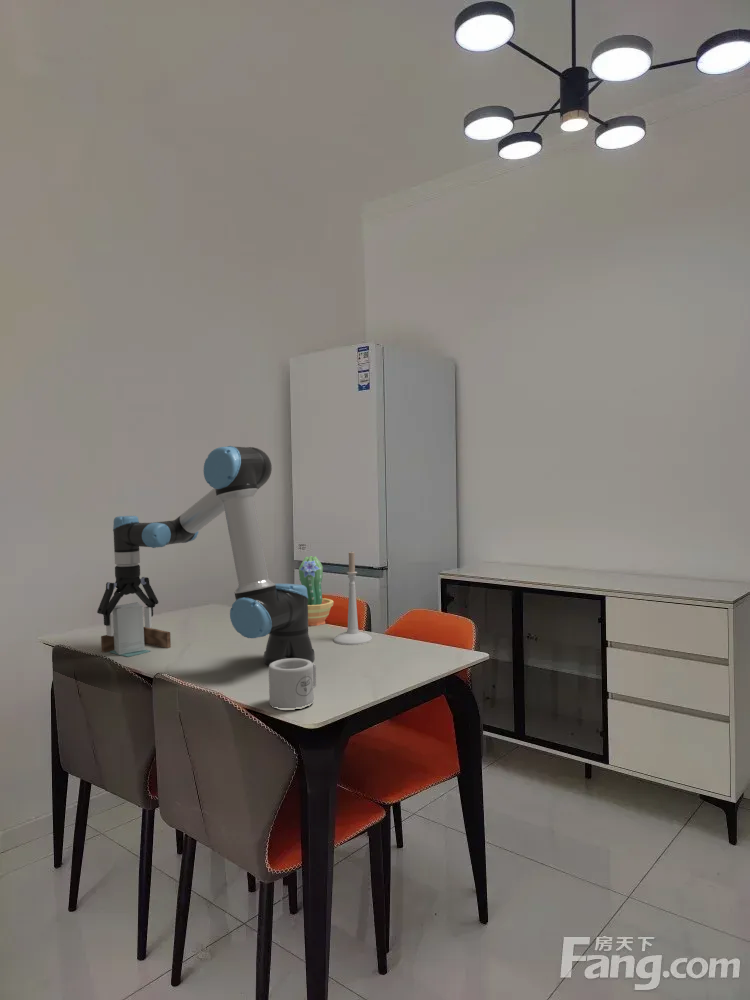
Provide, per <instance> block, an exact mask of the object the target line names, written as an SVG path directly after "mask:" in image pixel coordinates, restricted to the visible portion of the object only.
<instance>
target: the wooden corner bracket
mask: <svg viewBox="0 0 750 1000" xmlns="http://www.w3.org/2000/svg"><path fill="white" fill-rule="evenodd" d="M143 627H144V644H149V645H153V646H156V647H157V646H158V647H161V648H166V649H170V648H171V647H172V646H171V645H172V643H171V632H170V631H165V630H162V629H158V628H153V627H152V628H147V627H145V626H143ZM100 642H101V643H100V645H101V648H100V649H101V652H102V653H106V652H110V651H114V650H115V647H114V636H108V635H107V634H106V635H101V636H100Z"/></svg>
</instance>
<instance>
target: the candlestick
mask: <svg viewBox="0 0 750 1000" xmlns="http://www.w3.org/2000/svg"><path fill="white" fill-rule="evenodd" d="M355 553H356V552H355V551H349V552H348V571H347V572H346V574H347V575H348V576H347V578H348V581H349V583H348V609H347V629H346V630H347V631H344V632H341V633H339V634H337V635H336V636H335V637H334V638H333V642H334V643H335V644H337V643H338V644H339V645H345V646H359V645H358V644H361V645H364V644H363V643H366V642H368V641H370V640H371V639H372V640H373V638H372V636H371V635H370V634H368V633H366V632H362V631H359V624H358V609H357V594H356V593H357V591H356V582H355V580H356V578H357V574H358V571H356V566H355V565H356V563H355V562H356V559H355V558H356V557H355V555H356V554H355ZM366 644H367V643H366Z"/></svg>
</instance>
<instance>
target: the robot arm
mask: <svg viewBox="0 0 750 1000" xmlns="http://www.w3.org/2000/svg"><path fill="white" fill-rule="evenodd" d="M272 469H273V467H272V462H271V459H270V457H269V456H268V454H267V453H266V452H265V451H263V450H262V449H260V448H258V447H253V446H252V447H251V446H250V447H249V446H247V447H245V446H234V445H228V446H219V447H217V448H215V449H213V450H212V451H211V452H209V454H208V455H207V457H206V458H205V460H204V463H203V477H204V480H205V482H206V483H207V484H208V485H209V486H210V487H211V488H213V489H212V490H210V491H209V492H207V494H205V495H203V497H202V498H200V499H199V500H197V502H195V503H194V504H193V505H192V506H190V507H189V508H188V509H187V510H185V511H183V513H181V514H180V515H179V516H177V517H176V518H175V519H173V520H165V521H153V522H140V521H139V516H137V515H119V516H115V517H114V518H113V527H112V531H113V547H114V548H113V549H114V565H115V566H114V576H115V577H114V578H115V582H106V584H105V591H104V593H103V595H102V598H101V600H100V603H99V606H98V609H97V611H96V613H97V614H98V615H103V625H104V626H105V627H106V630H105V631H106V632H105V633H106V635H108V636H114V630H113V614H112V611H113V609H114V608H115V606H117V605H118V603H119V602H120V600H121V598H123V597H124V596H127V595H130V594H132V595H134V594H135V595H136V596H137V597H138V598H139V599H140V600H141V601H142V603H143V604H144V605H145V606H144V607H143V610H144V611H143V617H144V627H147V628H153V627H152V626H153V625H152V621H153V619H152V618H153V616H154V608H155V607H156V605H158V604H159V600H158V598H157V596H156V594H155V593H154V589H153V588H152V586H151V584H150V577H148V576H147V577H145V576H142V577H141V578H140V576H141V565H140V563H141V558H140V557H141V555H140V553H141V551H140V548H141V547H142V548H152V549H156V548H163V547H166V546H168V545H174V544H186V543H189V542H192V541H195V539H196V538H197V537H198V535H199V531H200V530H202V529H203V528H204V527H206V526H207V525H208V524H209V523H211V522H212V521H213V520H215V519H216V518H217V517H218V516H220V515H221V514H222V513H224V512H225V517H226V523H227V524H226V525H227V529H228V535H229V541H230V545H231V546H230V547H231V551H232V555H233V557H232V558H233V561H234V567H235V573H236V578H237V582H238V583H237V585H238V586H237V587H236V589H235V591H234V598H235V600H234V602H233V603H232V605H231V607H230V609H229V618H230V622H231V625H232V627H233V628H234V630H235V631H236V632H237V633H239V634H240V635H241V636H242V637H244V638H247V639H258V638H263V637H266V636H268V639H267V643H266V646H265V651H264V653H263V663H264V664H266V665H267V666H269V665H270V664H271V663H272V662H274V661H277V660H281V659H288V658H300V659H306V660H309V661H311V662H312V663H314V661H315V658H316V657H315V650H314V648H313V645H312V641H311V638H310V634H309V626H308V594H307V588H306V587H305V586H304V585H302V584H296V583H275V582H273V581H272V580H271V579H270V578H269V573H268V567H267V566H268V565H267V562H266V561H267V560H266V558H265V550H264V547H263V546H264V545H263V541H262V535H261V531H260V530H261V529H260V525H259V520H258V515H257V509H256V503H255V497H254V496H255V495H256V493H257V492H258V490H259V489H260V488H262V487H263V486H264V485H265V484H266V483H267V482H268V481H269V480H270V477H271V476H272V475H271V474H272ZM140 585H142V588H143V589H144V591H143V590H142V588H141V586H140ZM114 590H115V591H114Z"/></svg>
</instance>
